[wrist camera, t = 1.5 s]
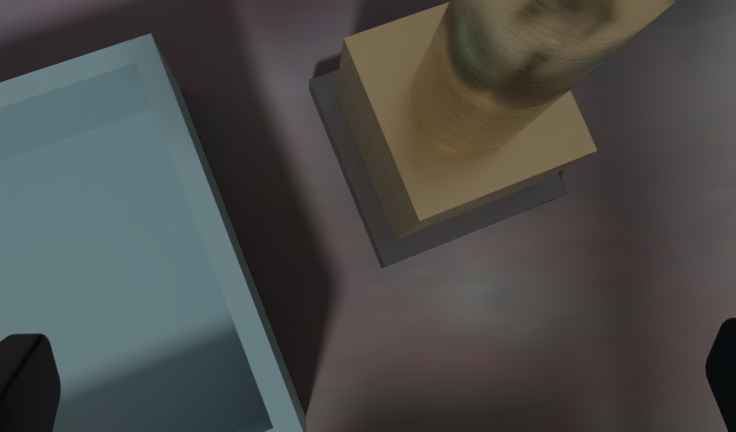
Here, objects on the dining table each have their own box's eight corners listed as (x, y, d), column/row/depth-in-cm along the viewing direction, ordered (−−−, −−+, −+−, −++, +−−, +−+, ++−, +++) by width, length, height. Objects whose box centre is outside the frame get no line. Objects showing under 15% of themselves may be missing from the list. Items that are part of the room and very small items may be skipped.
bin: (305, 417, 22) (307, 442, 18) (-69, 578, 21) (-170, 649, 16) (178, 85, 24) (151, 33, 19) (-185, 210, 22) (-308, 182, 17)
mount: (556, 198, 24) (602, 176, 21) (381, 268, 23) (397, 259, 20) (481, 28, 25) (513, -22, 21) (309, 89, 24) (310, 47, 20)
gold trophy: (541, 182, 23) (830, 20, 11) (396, 239, 23) (521, 139, 10) (479, 39, 24) (682, -275, 11) (335, 90, 23) (378, -186, 10)
